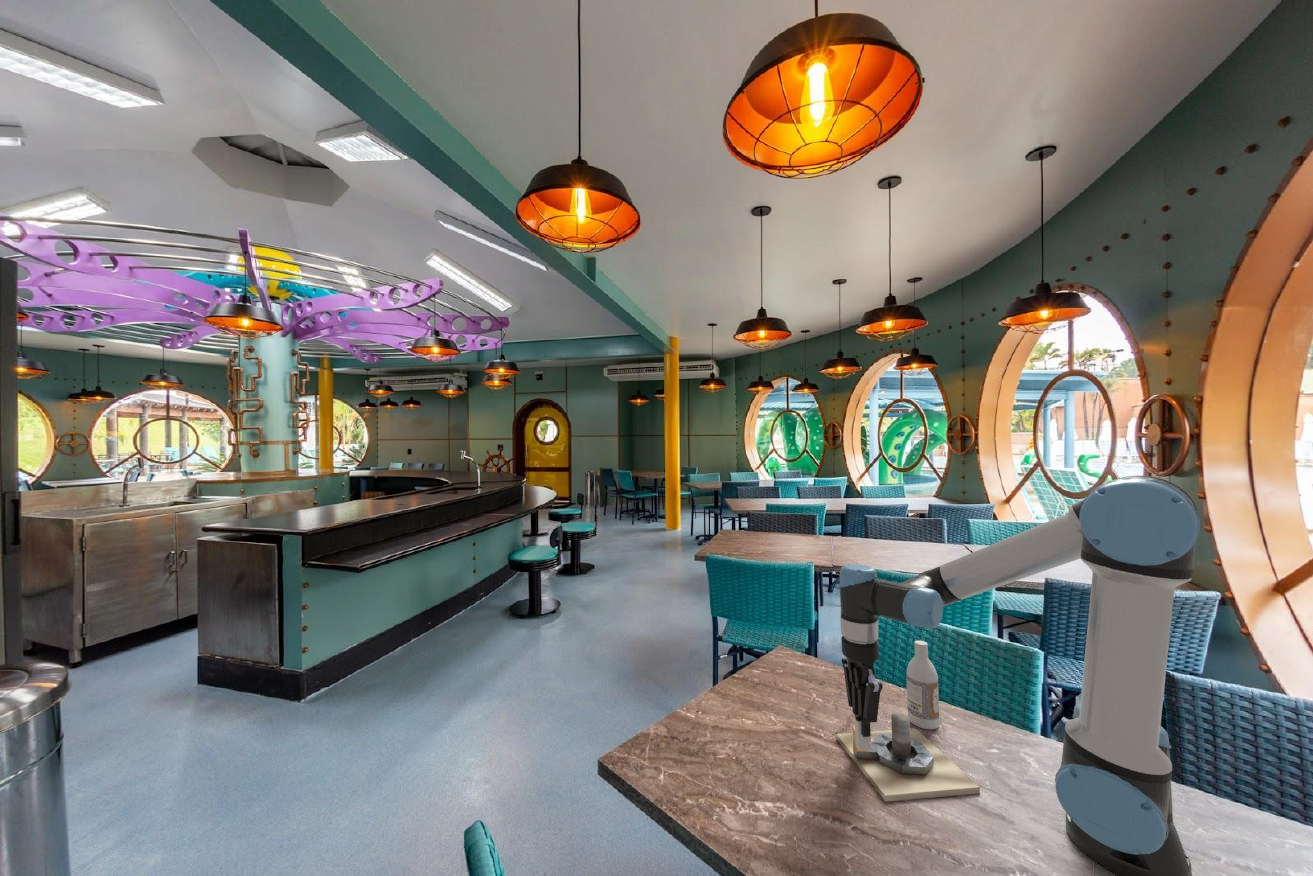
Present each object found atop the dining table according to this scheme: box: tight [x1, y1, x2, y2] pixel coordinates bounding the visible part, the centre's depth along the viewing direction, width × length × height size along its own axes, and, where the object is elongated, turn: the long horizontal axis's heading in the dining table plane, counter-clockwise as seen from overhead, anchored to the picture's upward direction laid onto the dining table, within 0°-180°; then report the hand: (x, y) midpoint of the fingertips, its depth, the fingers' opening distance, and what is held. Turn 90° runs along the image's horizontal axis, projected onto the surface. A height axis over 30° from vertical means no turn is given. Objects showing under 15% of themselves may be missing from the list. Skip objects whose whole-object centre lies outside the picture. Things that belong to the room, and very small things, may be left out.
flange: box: [852, 725, 934, 775], centre depth 102 cm, size 16×11×6 cm
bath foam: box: [906, 640, 940, 730], centre depth 118 cm, size 7×7×20 cm
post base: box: [836, 712, 981, 803], centre depth 102 cm, size 20×20×10 cm
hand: (863, 748), depth 100 cm, fingers closed
